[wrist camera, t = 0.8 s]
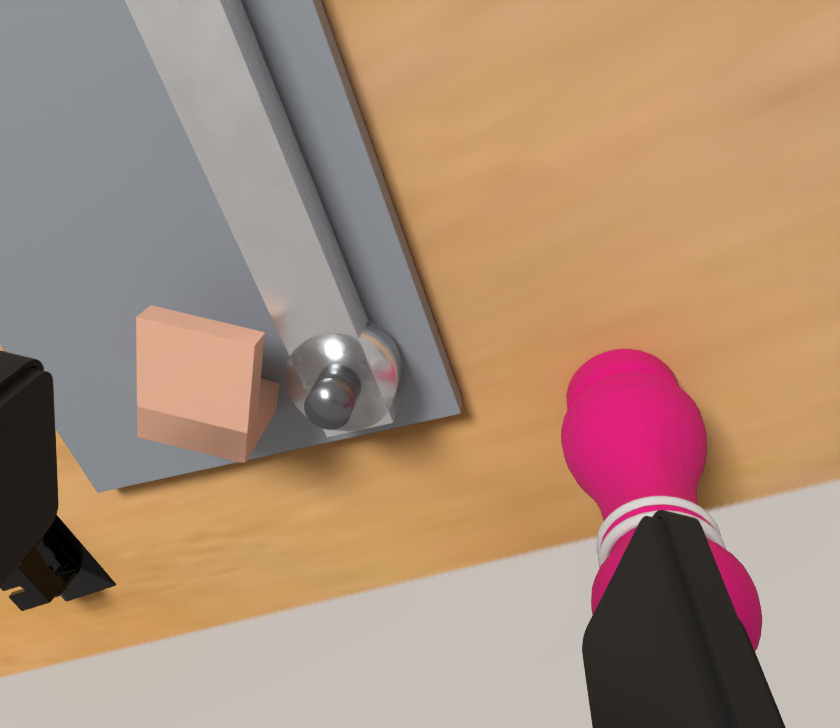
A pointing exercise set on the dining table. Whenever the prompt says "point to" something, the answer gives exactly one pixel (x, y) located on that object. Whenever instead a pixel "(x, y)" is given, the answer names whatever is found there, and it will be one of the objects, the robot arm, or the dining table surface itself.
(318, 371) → the steel link
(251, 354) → the block
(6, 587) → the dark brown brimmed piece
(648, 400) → the pepper mill
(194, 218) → the slate board
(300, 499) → the dining table surface
